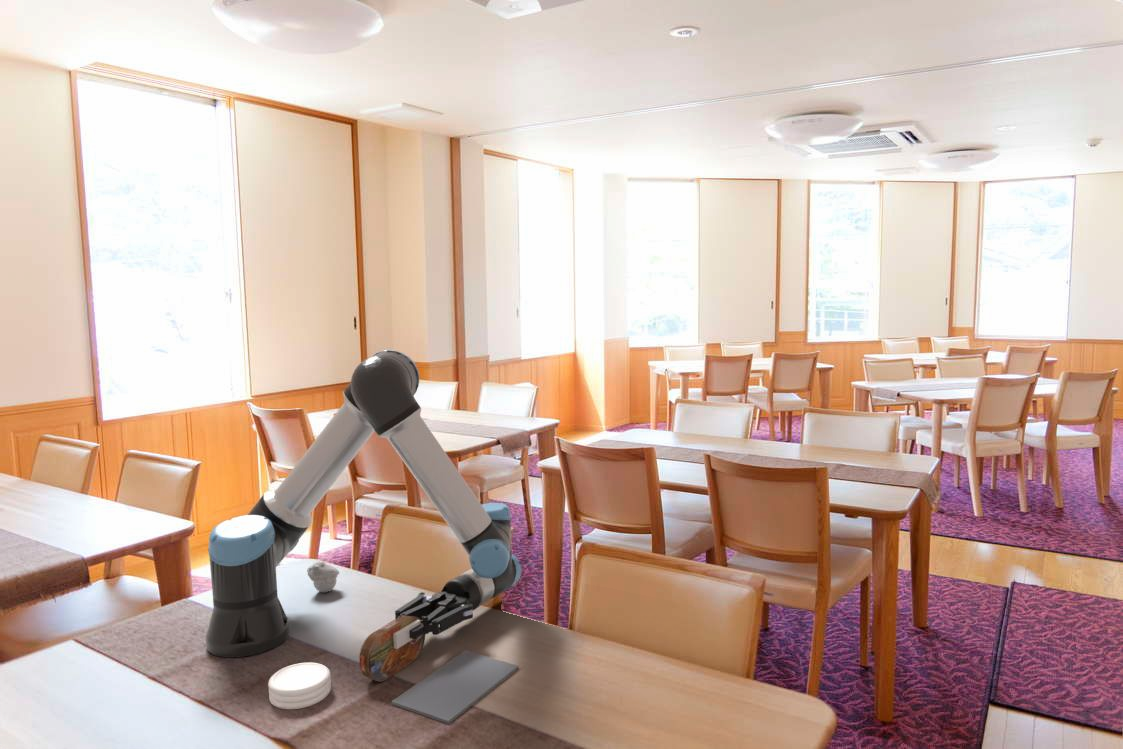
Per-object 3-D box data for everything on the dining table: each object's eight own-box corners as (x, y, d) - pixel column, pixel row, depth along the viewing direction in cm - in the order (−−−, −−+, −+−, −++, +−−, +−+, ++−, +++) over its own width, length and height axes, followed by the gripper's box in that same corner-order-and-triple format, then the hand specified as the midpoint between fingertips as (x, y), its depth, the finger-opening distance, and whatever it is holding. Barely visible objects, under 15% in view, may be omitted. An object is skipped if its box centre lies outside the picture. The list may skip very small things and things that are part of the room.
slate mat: (391, 704, 128) (391, 701, 127) (465, 653, 145) (465, 650, 145) (448, 724, 122) (448, 721, 121) (518, 668, 139) (518, 665, 139)
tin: (370, 690, 132) (368, 643, 131) (357, 685, 134) (354, 639, 133) (427, 652, 145) (425, 610, 144) (414, 649, 146) (412, 606, 145)
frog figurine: (311, 587, 177) (309, 557, 176) (342, 585, 178) (340, 556, 177) (305, 597, 171) (303, 567, 170) (337, 596, 172) (336, 566, 171)
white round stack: (342, 684, 134) (341, 665, 134) (307, 715, 125) (306, 694, 125) (294, 676, 138) (293, 657, 137) (256, 705, 128) (255, 685, 128)
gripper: (499, 617, 154) (422, 669, 134) (437, 602, 162) (356, 649, 142) (498, 581, 153) (421, 628, 133) (436, 567, 161) (354, 610, 141)
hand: (387, 639), depth 138 cm, fingers closed on tin, 3 cm apart
